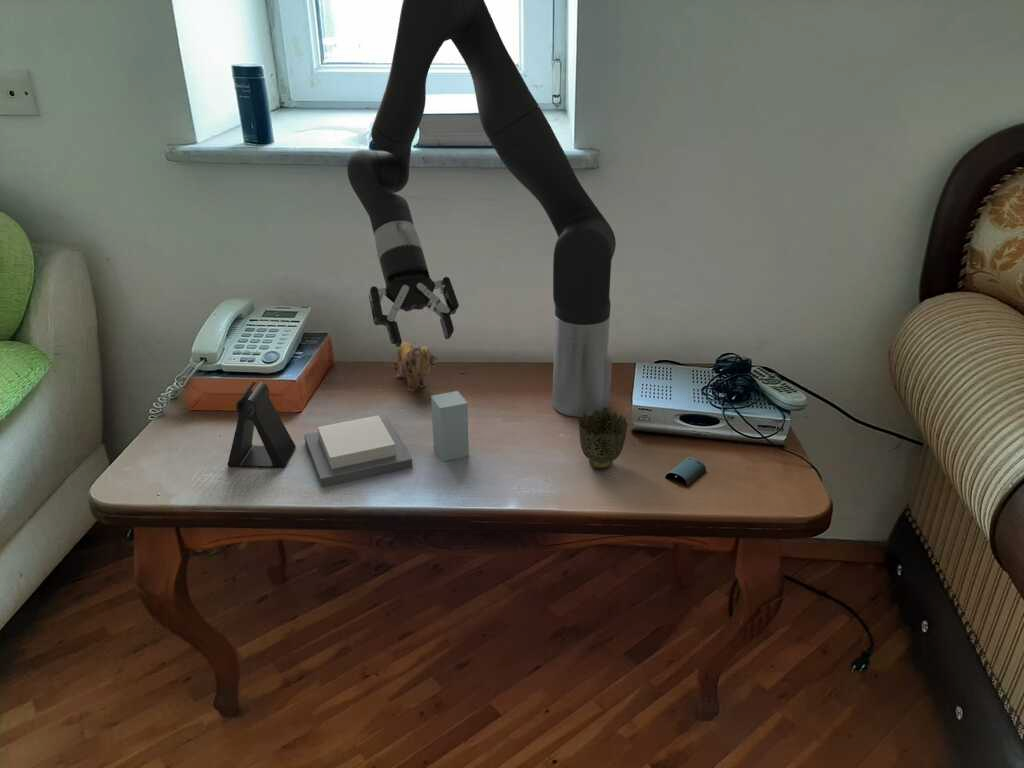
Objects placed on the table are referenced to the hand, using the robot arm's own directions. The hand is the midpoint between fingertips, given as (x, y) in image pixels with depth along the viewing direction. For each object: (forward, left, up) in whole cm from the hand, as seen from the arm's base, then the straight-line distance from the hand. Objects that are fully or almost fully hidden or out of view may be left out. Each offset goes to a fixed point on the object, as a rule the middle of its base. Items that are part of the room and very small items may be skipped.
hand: (424, 341), depth 129 cm
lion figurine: (-2, -15, -15) cm, 21 cm away
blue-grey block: (0, +12, -15) cm, 19 cm away
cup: (-20, +25, -15) cm, 35 cm away
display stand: (+14, +7, -14) cm, 21 cm away
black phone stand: (+28, +2, -15) cm, 32 cm away
